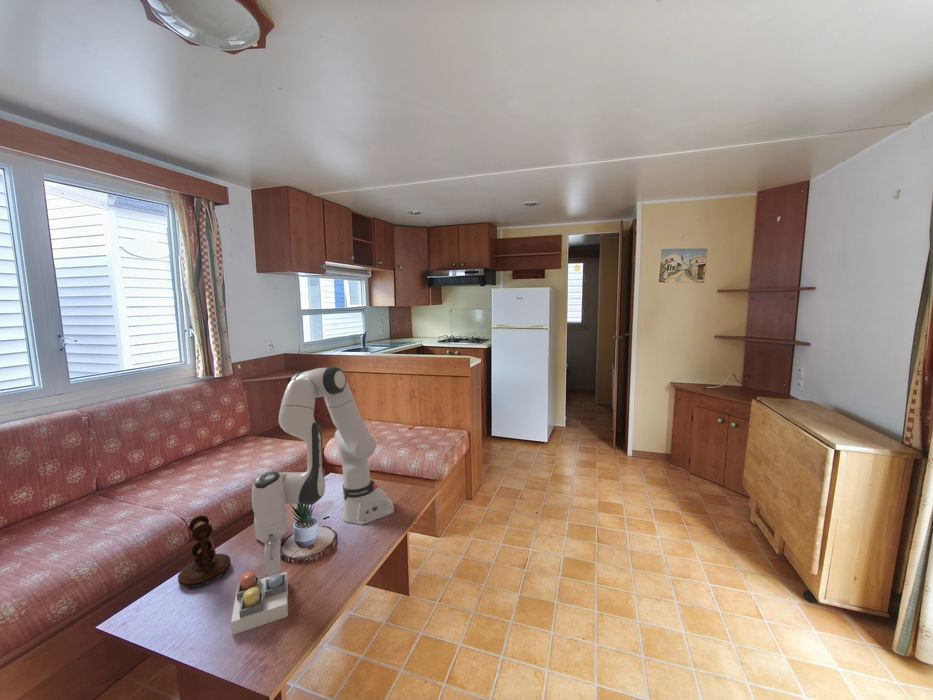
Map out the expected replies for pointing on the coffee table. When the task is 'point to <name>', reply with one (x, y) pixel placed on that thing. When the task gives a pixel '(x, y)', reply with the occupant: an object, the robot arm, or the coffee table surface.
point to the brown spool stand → (203, 557)
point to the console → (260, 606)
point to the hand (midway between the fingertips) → (275, 568)
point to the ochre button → (251, 597)
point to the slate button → (275, 581)
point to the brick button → (248, 580)
